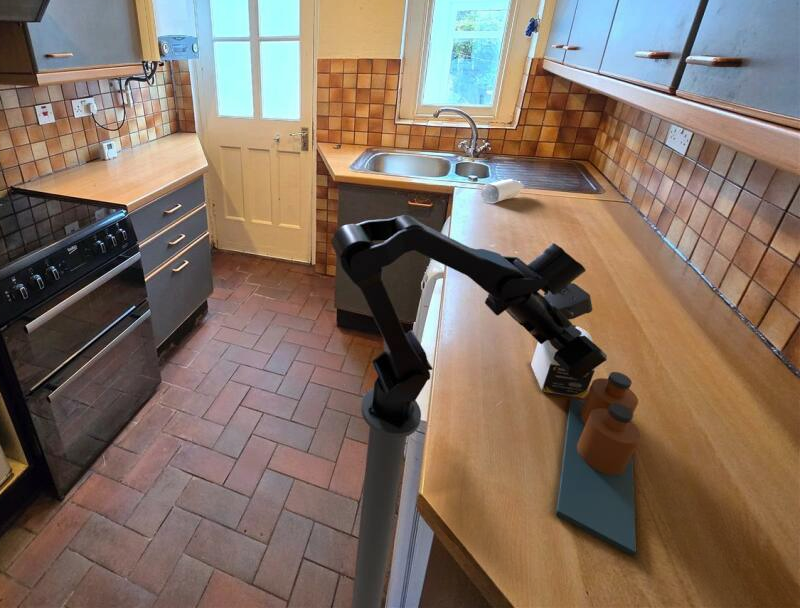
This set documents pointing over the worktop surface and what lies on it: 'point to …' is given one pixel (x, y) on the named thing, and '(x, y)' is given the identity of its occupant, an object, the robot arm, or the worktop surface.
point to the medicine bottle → (559, 368)
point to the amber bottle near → (609, 439)
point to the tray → (595, 492)
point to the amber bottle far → (609, 394)
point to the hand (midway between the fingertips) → (570, 351)
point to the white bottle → (501, 190)
